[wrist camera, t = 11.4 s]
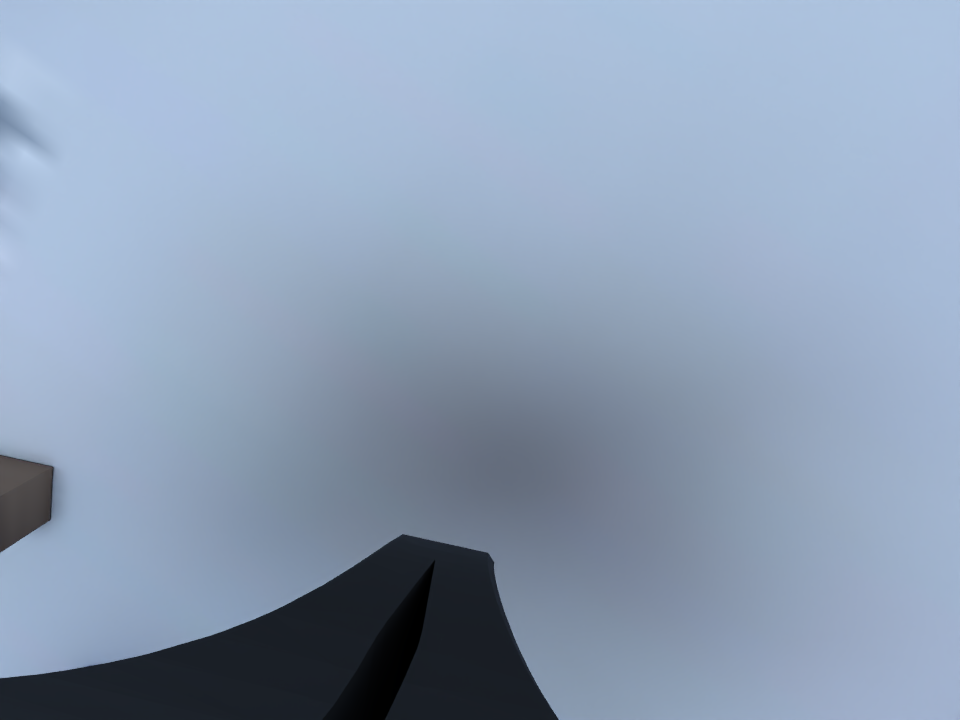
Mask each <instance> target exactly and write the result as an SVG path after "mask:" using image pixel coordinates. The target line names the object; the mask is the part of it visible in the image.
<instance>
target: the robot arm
mask: <svg viewBox="0 0 960 720" xmlns="http://www.w3.org/2000/svg"><path fill="white" fill-rule="evenodd" d="M0 720H558V718H557V716H556V715H555V713H554V712H553V710H552V709H551V707H550V705H549V704H548V702H547V701H546V699H545V698H544V696H543V694H542V693H541V691H540V689H539V687H538V686H537V684H536V682H535V680H534V678H533V676H532V675H531V673H530V671H529V669H528V666H527V664H526V662H525V660H524V658H523V656H522V654H521V652H520V650H519V648H518V645H517V643H516V641H515V638H514V636H513V633H512V631H511V628H510V625H509V623H508V620H507V618H506V615H505V612H504V609H503V606H502V603H501V600H500V596H499V592H498V589H497V585H496V580H495V574H494V562H493V560H492V558H491V557H490V555H489V554H488V553H486V552H481V551H477V550H472V549H467V548H463V547H458V546H454V545H449V544H445V543H440V542H435V541H431V540H426V539H422V538H417V537H413V536H408V535H404V534H402V535H401V536H399V537H397V538H396V539H394V540H393V541H391V542H389V543H388V544H386V545H385V546H383V547H382V548H380V549H379V550H377V551H376V552H374V553H373V554H371V555H370V556H369V557H367V558H365V559H364V560H362V561H361V562H359V563H358V564H356V565H355V566H353V567H352V568H350V569H349V570H347V571H345V572H344V573H342V574H341V575H339V576H337V577H336V578H334V579H332V580H331V581H329V582H328V583H326V584H324V585H323V586H321V587H319V588H317V589H315V590H313V591H311V592H309V593H308V594H306V595H304V596H302V597H300V598H298V599H296V600H294V601H293V602H291V603H289V604H287V605H285V606H283V607H281V608H279V609H277V610H274V611H272V612H270V613H268V614H266V615H263V616H261V617H259V618H256V619H254V620H251V621H249V622H246V623H244V624H241V625H239V626H236V627H233V628H231V629H228V630H226V631H223V632H220V633H217V634H214V635H211V636H208V637H205V638H201V639H198V640H195V641H191V642H188V643H184V644H181V645H177V646H174V647H170V648H167V649H164V650H160V651H157V652H153V653H150V654H146V655H142V656H138V657H133V658H128V659H124V660H119V661H115V662H110V663H105V664H100V665H94V666H89V667H83V668H77V669H72V670H66V671H59V672H52V673H46V674H39V675H29V676H19V677H10V678H0Z"/></svg>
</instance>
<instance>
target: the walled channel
mask: <svg viewBox="0 0 960 720" xmlns="http://www.w3.org/2000/svg"><path fill="white" fill-rule="evenodd" d="M52 472H53V467H50V466H46V465H41V464H36V463H32V462H27V461H23V460H18V459H14V458H9V457H5V456H0V552H2V551H3V550H5V549H6V548H8V547H10V546H11V545H13V544H14V543H16V542H17V541H19V540H20V539H22V538H23V537H25V536H26V535H28V534H29V533H31V532H32V531H34V530H36V529H37V528H39V527H40V526H42V525H43V524H45V523H46V522H48V521H49V520H50V510H51V491H52Z"/></svg>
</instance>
